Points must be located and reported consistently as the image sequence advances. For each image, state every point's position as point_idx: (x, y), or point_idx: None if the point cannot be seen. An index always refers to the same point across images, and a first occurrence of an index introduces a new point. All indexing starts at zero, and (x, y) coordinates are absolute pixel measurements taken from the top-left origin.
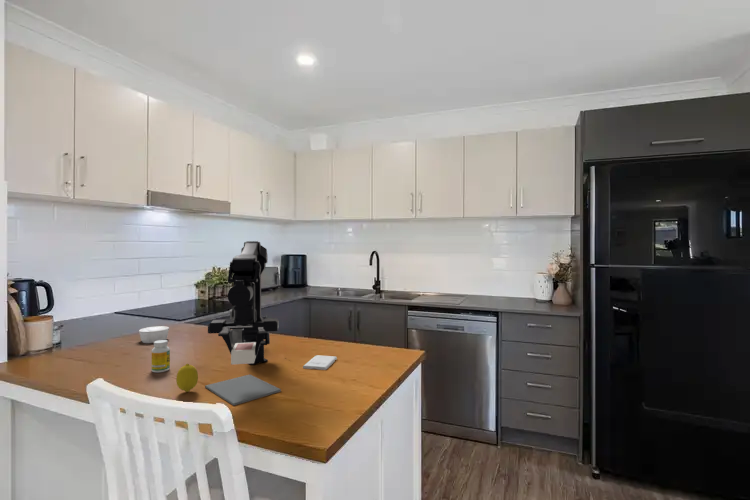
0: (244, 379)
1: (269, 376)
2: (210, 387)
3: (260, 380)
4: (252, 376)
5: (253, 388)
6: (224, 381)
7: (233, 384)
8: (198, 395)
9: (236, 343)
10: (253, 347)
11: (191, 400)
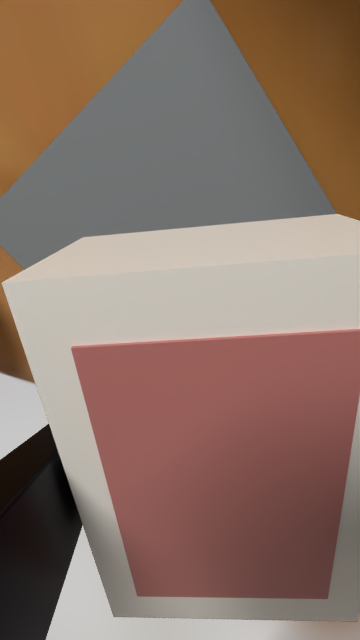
0: (180, 127)
1: (357, 10)
2: (23, 258)
3: (292, 163)
4: (228, 54)
5: None
6: (59, 157)
7: (134, 223)
8: (9, 323)
9: (30, 305)
10: (354, 541)
11: (10, 371)
